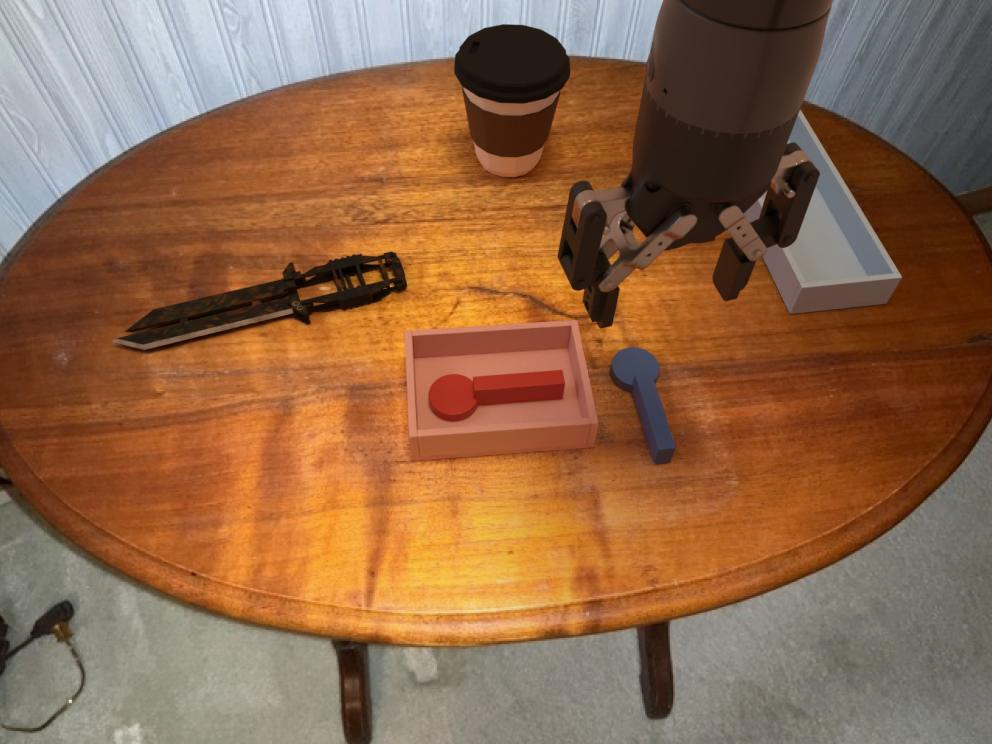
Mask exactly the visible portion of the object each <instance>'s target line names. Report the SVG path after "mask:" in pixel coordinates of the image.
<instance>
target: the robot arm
mask: <svg viewBox="0 0 992 744" xmlns="http://www.w3.org/2000/svg"><path fill="white" fill-rule="evenodd" d="M834 1H835V0H662V2H661V6H660V8H659V12H658V15H657V17H656V21H655V25H654V28H653V34H652V38H651V43H650V44H651V45H650V50H649V54H648V57H647V60H646V63H645V76H644V82H643V86H642V87H643V88H642V91H641V98H640V103H639V109H638V113H637V119H636V125H635V128H634V129H635V130H634V136H633V140H632V161H631V168H630V170H629V172H628V173H627V176H626V177H625V178H624V180H623V181H622V182H621V184H620V186H619V187H613V188H606V189H599V190H594V187H593V185H592V184H591V183H590V181H588V180H578V181H577V182H575V183H574V184H573V185H572V186H571V187H570V189H569V194H568V199H567V204H566V209H565V215H564V220H563V225H562V230H561V236H560V241H559V245H558V246H559V247H558V251H557V260H558V262H559V263H560V266H561V268H562V270H563V272H564V275H565V276H566V279H567V281H568V283H569V285H570V287H571V289H572V290H573V291H576V292H577V291H579V292H581V291H583V295H582V304H583V306H584V308H585V310H586V312H587V315H588V316H589V318H590V320H591V323H596V324H597V326H598V328H599V329H606V328H610V327H611V328H612V326H613V324H614V319H615V315H616V309H617V304H618V300H619V295H620V291H621V289H620V285H621V284H622V283H623V282H624V281H625V280H626V279H627V278H628V277H629V276H630V275H631V274H632V273H633V272H635V270H640V271H643V270H645V269H647V268H648V267H649V266H650V265H651V264H652V263H653V262H654V261H655V260H656V259H657V258H659V256H660V255H662V254H663V252H666V251H667V252H668V251H671V250H676V249H679V248H681V247H684V246H687V245H690V244H705V243H709V242H710V243H711V242H715V240H716V238H717V237H718V236H720V235H721V234H724V232H727V233H728V234H729V236H730V237H728V238H724V240H723V244H722V245H721V246H722V247H721V249H720V251H719V256H718V258H717V261H716V265H715V268H714V270H713V273H712V276H711V279H712V283H713V286H714V287H715V289H716V290H717V292H718V294H719V296H720V297H721V299H722V300H723V301H724V302H730V301H734V300H737V299H738V298H739V295H740V293H741V291H744V289H745V288H746V286H748V284H749V281H750V278H751V276H752V273H753V271H754V268H755V265H756V263H757V261H758V260H761V259H763V256H764V255H765V254H766V252H767V248H769V247H771V246H774V245H776V244H777V245H778V246H779V247H780V248H786V247H788V246H790V245H792V244H793V243H794V242H795V241H796V239H797V236H798V234H799V231H800V228H801V225H802V223H803V220H804V217H805V214H806V212H807V209H808V206H809V203H810V201H811V198H812V195H813V192H814V190H815V187H816V184H817V181H818V179H819V176H820V172H819V170H818V169H817V168H816V167H815V165H814V164H813V162H812V161H811V160H810V158H809V157H808V156H807V155H806V154H805V152H804V151H803V150H802V149H801V148H800V147H799V145H798V144H797V143H795V142H792V143H788V140H789V138H790V135H791V132H792V129H793V127H794V124H795V121H796V119H797V116H798V113H799V111H800V110H801V108H802V105H803V103H804V99H805V97H806V95H807V92H808V89H809V86H810V84H811V81H812V78H813V76H814V73H815V70H816V68H817V66H818V65H817V64H818V62H819V59H820V56H821V52H822V48H823V44H824V41H825V35H826V30H827V25H828V20H829V16H830V13H831V10H832V7H833V3H834ZM787 143H788V144H787ZM766 191H767V193H766V196H765V200H764V203H763V206H762V210H761V213H760V216H759V219H757V220H755V221H753V222H750V223H749V221H748V220H747V218H746V217H745V216H744V213H745V212H746V211H747V210H748V209H749V208H750V207H751V206H752V205H753V204H754V203H755V202H756V201H757V200H758V199H759V198H760V197H761V196H762V195H763V194H764V193H765V192H766ZM635 226H636V227H637V229H639V231H640V232H641V234H642V235H643V236H644V237H645V239H644V240H643V241H642V242H641V243H639V242H638V240H637V238H636V236H635V234H634V229H635V228H634V227H635ZM617 252H619V254H618V255H619V256H618V257H617V259H616V260H615V261H614V262H613V263H611V262H610V259H611V258H612V257H613V256H614V255H615V254H616V253H617Z"/></svg>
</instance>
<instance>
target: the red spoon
mask: <svg viewBox="0 0 992 744" xmlns="http://www.w3.org/2000/svg"><path fill="white" fill-rule="evenodd" d="M564 388H565V380H564V375H563V370H553V371H540V372H527V373H514V374H501V375H489V376H476V377H473V381H472V380H471V379H469V378H468V377H466V376H463V375H459V374H449V375H445V376H442V377H440V378H438V379H437V380H436V381H435V382H434V383H433V384H432V385H431V387H430V390H429V405H430V408H431V410H432V411H433V413H434V414H435V415H436V416H438V417H439V418H441V419H443V420H447V421H460V420H464V419H466V418H468V417H469V416H471V415H472V414H473V413H474V412H475V410H476V409H477V407H478V406H481V405H494V404H506V403H518V402H531V401H543V400H555V399H563V394H564Z"/></svg>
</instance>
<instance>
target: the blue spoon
mask: <svg viewBox="0 0 992 744" xmlns="http://www.w3.org/2000/svg"><path fill="white" fill-rule="evenodd" d="M660 369H661V367H660V363H659V361H658V359H657V358H656V356H655V355H654V354H653V353H651V352H650V351H648V350H646V349H644V348H641V347H635V346H633V347H626V348H622V349H620V350H619V351H618V352H616V353H615V354H614V356H613V357H612V360H611V362H610V368H609V375H610V377H611V379H612V381H613V383H614V384H615V385H616V386H618V387H619V388H620V389H622V390H623V391H626V392H629V393H631V395H632V399H633V402H634V405H635V409H636V411H637V415H638V418H639V422H640V425H641V428H642V431H643V434H644V439H645V441H646V445H647V447H648V450H649V454H650V457H651V459H652V464H653V465H660V464H667V463H668V464H669V463H671V462H672V460H673V458H674V454H675V452H676V450H677V446H676V443H675V440H674V437H673V434H672V430H671V428H670V425H669V421H668V419H667V415H666V412H665V410H664V406H663V404H662V400H661V398H660V395H659V391H658V389H657V386H656V385H657V384H656V383H657V382H658V378H659V375H660V371H661V370H660Z"/></svg>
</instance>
